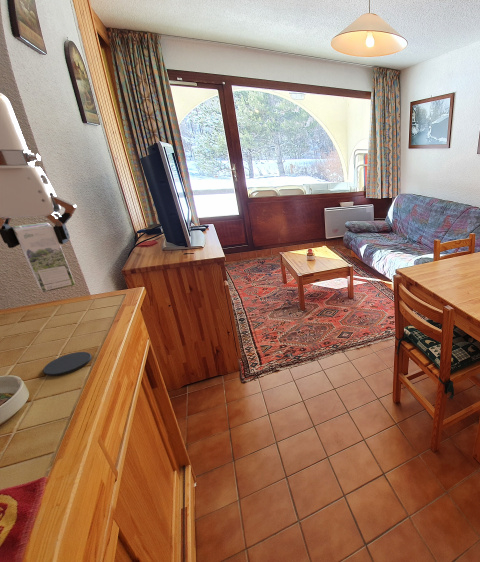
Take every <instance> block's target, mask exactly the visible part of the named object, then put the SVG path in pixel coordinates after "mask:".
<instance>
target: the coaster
mask: <svg viewBox="0 0 480 562" xmlns="http://www.w3.org/2000/svg"><path fill="white" fill-rule="evenodd" d="M91 361H92V355H91V353H90V352H87V351H76V352H72V353H67V354H64V355H62V356H60V357H56V358H55V359H53V360H51V361H50V362H48V363H47V364H46V365H44V367H43V369H42V371H43V374H44V375H45V376H48V377H58V376H64V375H67V374H71V373H73V372H76V371H78V370H80V369H82V368H84V367H85V366H87V365H88V364H89V363H90V362H91Z"/></svg>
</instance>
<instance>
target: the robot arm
mask: <svg viewBox="0 0 480 562" xmlns="http://www.w3.org/2000/svg"><path fill="white" fill-rule="evenodd" d="M41 161H42V160H41V156H40V155H39V154H38V153H33V152H31V150H29V148H28V146H27V143H26V140H25V138H24V136H23V134H22V129H21V128H20V125H19V122H18V119H17V117H16V115H15V112H14V109H13V106H12V104H11V102H10V100H9V98H8V97H7V96H6V95H5V94H3V93H2V92H0V237H1V239H2V241H3V243H4V244H6V245H7V247H8V249H13V248H15V247H17V246H20V244H19V242H18V239H17V237H16V235H15V233H14V230H13V227H14V226H10V223H11V221H12V218H32V217H45V218H47V219H48V220H49V221H50V222H51V223H53V224H54V225H53V226H52V227H53V229H54V231H55V234H56V236H57V239H58V241H59V243H60V245H64V244H66V243H67V242H69V239H70V238H71V236H70V233H69V231H68V228H67V223H68V221H69V220H70V219H71V218H72V217H73V215H74V213H75V211H76V210H77V205H76V204H73V203H71V202H69V201H67V200H65V199H63V198H60V197H59V196H57V194H56V192H55V189H54V188H53V186H52V184H51V182H50V180H49V178H48V177H47V175H46V173H45V172H44V171H43V168H41V166H35V164H36V163H35V162H41ZM62 208H64V211H63V213H61V214H60V213H59V212H60V211H61V210H62Z"/></svg>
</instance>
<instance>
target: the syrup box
mask: <svg viewBox="0 0 480 562" xmlns="http://www.w3.org/2000/svg"><path fill="white" fill-rule="evenodd" d="M12 227H13V230H14V233H15V235H16V237H17V239H18V242H19V247H20V248H21V250H22V253H23V256H24V257H25V261H26V263H27V265H28V266H29V269H30V271H31V273H32V276H33V278H34V280H35V283H36V285H37V286H38V288H39V289H40V290H41V292H42V293H47V292H51V291H56V290H59V289H64V288H69V287H73V286H76V283H75V280H74V277H73V274H72V273H71V269H70V267H69V264H68V261H67V258H66V256H65V254H64V250H63V248H62V246H61V245H62V244H60V243H59V241H58V239H57V236H56V234H55V231H54V229H53V227H54V226H52V225H51V224H50V223H49V222H42V223H41V222H39V223H34V224H23V225H15V226H12Z"/></svg>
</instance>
